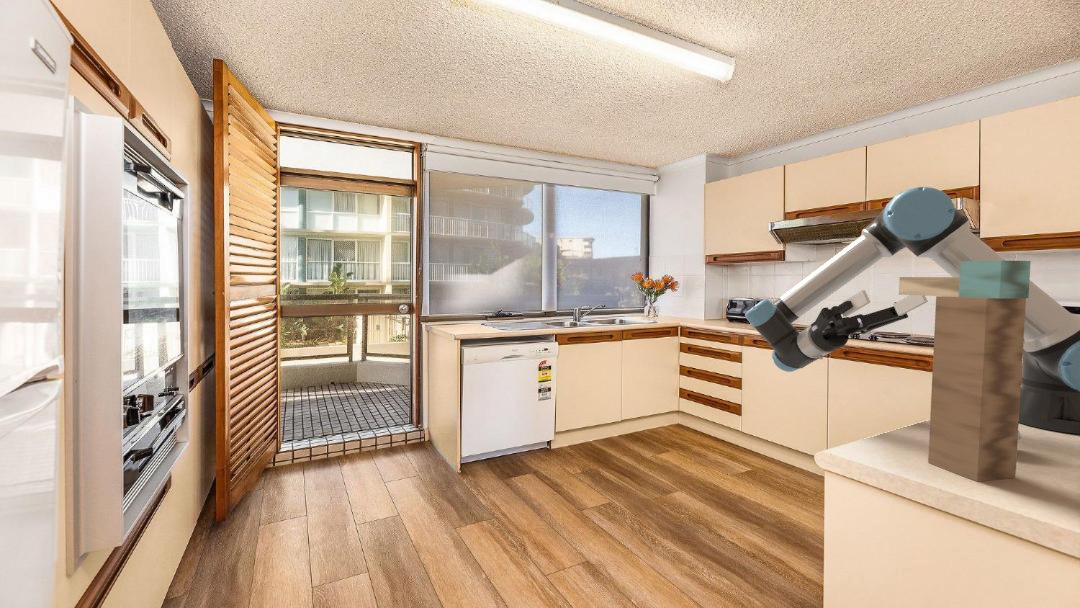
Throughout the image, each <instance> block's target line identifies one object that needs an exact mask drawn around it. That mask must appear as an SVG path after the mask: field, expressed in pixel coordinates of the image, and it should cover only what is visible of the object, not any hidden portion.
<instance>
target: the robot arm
mask: <svg viewBox="0 0 1080 608" xmlns="http://www.w3.org/2000/svg"><path fill="white" fill-rule="evenodd" d="M970 222H971V219H969V218H968V217H966V216H965V215H964V213H962V212H961V211H959V210H958V209H957V208H955V204H954V202H953V200H952V199H951V197H950V196H949V195H948V194H947V193H945V192H944V191H942V190H940V189H938V188H936V187H935V188H934V187H930V186H918V187H913V188H909V189H905V190H904V191H900V193H898V194H897V195H895V196H893V198H892V199H890V201H888V203H887V204H886V206H885V207H884V208H883V210H882V211H880V213H879V214H878V215H877V217H875V218H874V220H873V221H871V222H870V223H869V224H868V225H866V226H865V227H864V228H863V229H861V235H860V236H859V237H857V238H856V239H855V240H854V241H852V242H851V243H850V244H848V245H846V247H844V248H843V249H842V250H840V251H839V252H838V253H836V254H835V255H834V256H832V257H831V258H830V259H828V260H827V261H826V262H825V263H823V264H822V265H820V266H819V267H818V268H816V269H815V270H814V271H812V272H811V273H810V274H808V275H807V276H806V277H805V278H804V279H802V280H801V281H800V282H798V283H797V284H796V285H794V286H793V287H792V288H790V289H789V290H788V291H786V292H785V293H784V294H782V295H781V296H780V297H778V298H777V299H776V300H775V301H773V302H772V301H771V300H769V299H768V298H763V299H762V300H761V301H759V302H757V304H755V305H754V306H753V307H750V308H749V309H748V310H747V311H746V312H745V314H744V316H745V318H746V320H747V321H748V322H749V323H750V326H751V327H753V328H754V329H755V330H756V331H757V332H758V333H759V334H760V336H761V337H762V338H763V339H764V340H765V341H766V342H767V343H768V344H769V346H770V347H771V348H772V349H773V351H772V354H771V358H772V360H773V363H774V365H775V366H776V367H777V368H778V369H779V370H781V371H784V372H786V373H787V372H788V373H789V372H791V373H792V372H795V371H797V370H800V369H804V368H805V367H806V366H809V365H810V364H812V363H813V362H815V361H817V360H823V359H824V357H826V355H828V354H830V353H832V352H835V351H836V350H839V349H840V348H842V347H844V346H845V345H847V343H848V341H849V337H850V336H853V335H855V334H857V333H858V332H860V334H862V335H865V334H867V333H869V332H871V331H873V330H876V329H879V328H882V327H885V326H888V325H890V324H893V323H896V322H899V321H902V320H904V319H907V318H909V315H908V313H910V312H911V311H913V310H915V309H916V308H918V307H921V306H922V305H924V304H926V303H928V302H929V301H928V298H927V297H926V296H925V295H906V297H904V298H902V299H901V300H900V299H899V300H898V301H897V302H896V301H895V302H893V304H892V305H893V306H890V307H887V308H884V309H881V310H877V311H873V312H869V313H866V314H860V313H859V314H856V315H852V314H854V313H855V312H857V311H859V310H860V309H862V308H863V307H865V306H867V305H869V304H870V303H871V300H870V298H869V295H868V294H867V291H866V289H865V290H864V289H862V290H860V291H858V292H857V293H855V294H853V295H851V296H850V297H849V298H848V299H846V300H844V301H842V303H840V304H838V305H833V306H832V307H831V308H829V307H823V308H821V310H820V312H819V314H818V316H817V317H816V318H815V321H814V322H812V323H810V325H809V326H808V327H807V328H805V329H803V330H802V331H798V329H797V328H796V327H795V326H794V325H793V323H794V322H796V321H797V320H798V319H799V318H801V317H802V316H803V315H805V314H806V313H807V312H809V311H811V310H812V309H813V308H814V307H816V306H817V305H819V304H820V303H822V302H823V301H824V300H826V299H827V298H829V297H830V296H831V295H833V294H834V293H835V292H837V291H839V290H840V289H841V288H843V287H844V286H845V285H847V284H848V283H849V282H851V281H852V280H853V279H855V278H856V277H858V276H859V275H860V274H862V273H863V272H865V271H867V269H869V268H871V267H872V266H873V265H874V264H876V263H878V262H879V261H880V260H881V259H883V258H891V257H893V256H894V255H895V254H897V253H898V252H901V251H902V250H903V249H908V250H909V251H910V252H911V253H913V254H914V255H915V256H916V257H917V258H928V259H931V260H932V261H934V263H935V264H937V265H938V266H939V267H940V268H942V269H943V270H944V271H945V272H946V273H947V274H948V275H950V277H960V263H961V262H969V261H1007V260H1006V259H1005V258H1004V257H1002V256H1001V255H1000V254H999V253H997V252H996V251H995V250H994V249H992V248H991V247H990V246H989V245H988V244H986V243H985V241H983V240H981V239H980V238H979V237H978V236H977V235H975V234H974V233H973V232H971V230H970V226H971V225H970V224H971V223H970ZM851 315H852V316H851ZM859 319H860V321H859ZM1019 423H1020V424H1023V425H1025V426H1031V427H1034V428H1038V429H1043V430H1049V431H1054V432H1061V433H1068V434H1078V435H1080V314H1079V313H1078V314H1077V313H1073V312H1070V311H1069V310H1067V309H1066V308H1065V307H1064V306H1062V305H1061V304H1060V303H1059V302H1058V301H1057V300H1055V299H1054V298H1053V297H1052V296H1050V295H1049V294H1048V293H1046V292H1045V291H1044V289H1041V287H1039V286H1038V285H1037V284H1035V283H1034V282H1033V281H1031V280H1029V297H1028V298H1026V306H1025V323H1024V340H1023V357H1022V374H1021V391H1020V408H1019Z"/></svg>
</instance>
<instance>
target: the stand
mask: <svg viewBox="0 0 1080 608" xmlns="http://www.w3.org/2000/svg"><path fill="white" fill-rule="evenodd" d="M1025 306H1026V298H1002V299H999V298H972V297H952V296H935V312H934V313H935V315H934V330H933V331H934V334H933V356H932V357H933V358H932V375H931V398H930V416H929V417H930V419H929V435H928V436H929V437H928V441H929V442H928V454H927V455H928V458H927V463H928V464H930V465H933V466H936V467H938V468H941V469H943V470H946V471H949V472H951V473H954V474H956V475H959V476H961V477H965V478H966V479H969V480H972V481H975V482H984V481H985V482H986V481H995V480H1006V479H1015V478H1016V476H1017V475H1016V473H1017V457H1018V456H1017V455H1018V441H1019V440H1018V430H1019V426H1020V425H1019V408H1020V391H1021V381H1022V362H1023V343H1024V323H1025Z"/></svg>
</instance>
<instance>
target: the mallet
mask: <svg viewBox="0 0 1080 608" xmlns="http://www.w3.org/2000/svg"><path fill="white" fill-rule="evenodd" d="M1031 263H1032V261H1031V260H1006V261H969V262H961V263H960V277H952V276H915V277H914V276H903V277H902V276H900V277H899V279H898V295H901V296H903V295H905V296H909V295H925V297H926V296H929V297H930V296H931V297H936V296H952V297H972V298H999V299H1002V298H1028V297H1029V280H1030V277H1031V276H1030V275H1031ZM1030 281H1031V280H1030Z"/></svg>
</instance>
